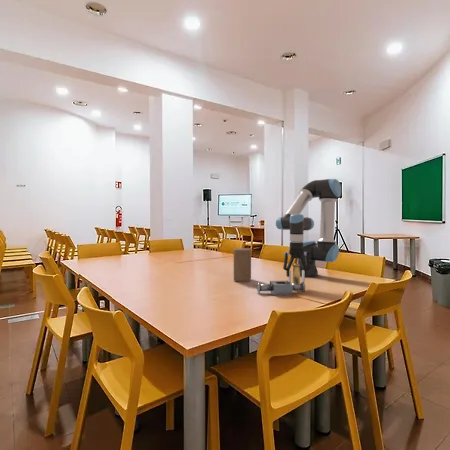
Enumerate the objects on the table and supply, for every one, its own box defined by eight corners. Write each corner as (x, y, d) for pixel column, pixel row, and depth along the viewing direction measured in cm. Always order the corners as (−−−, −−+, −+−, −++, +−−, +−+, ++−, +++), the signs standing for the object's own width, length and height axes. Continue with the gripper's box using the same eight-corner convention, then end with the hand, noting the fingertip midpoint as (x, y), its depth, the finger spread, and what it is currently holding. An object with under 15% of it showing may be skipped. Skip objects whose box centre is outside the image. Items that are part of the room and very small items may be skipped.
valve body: (300, 290, 171) (300, 280, 171) (306, 295, 161) (306, 284, 161) (256, 291, 170) (256, 280, 170) (259, 295, 160) (259, 285, 160)
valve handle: (299, 287, 178) (299, 263, 177) (301, 289, 173) (301, 264, 172) (291, 287, 177) (291, 263, 177) (293, 289, 173) (293, 264, 172)
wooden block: (249, 282, 191) (249, 250, 190) (233, 281, 193) (233, 249, 192) (251, 278, 201) (251, 248, 200) (236, 278, 203) (235, 247, 202)
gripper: (311, 241, 178) (311, 280, 179) (277, 241, 177) (277, 281, 178) (316, 242, 171) (316, 283, 172) (280, 242, 170) (280, 284, 171)
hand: (296, 282), depth 175 cm, fingers open, 7 cm apart
